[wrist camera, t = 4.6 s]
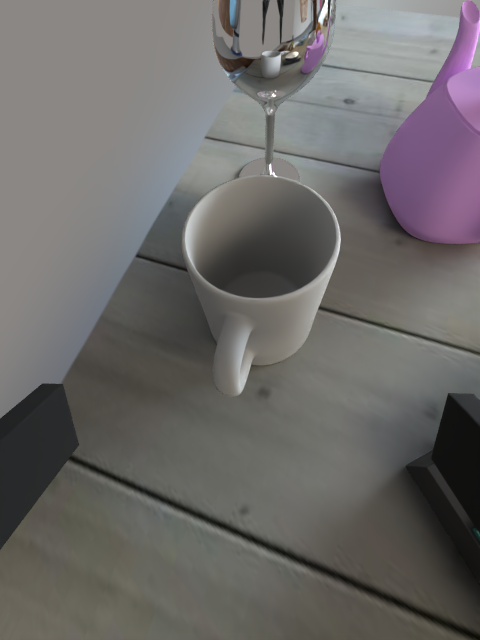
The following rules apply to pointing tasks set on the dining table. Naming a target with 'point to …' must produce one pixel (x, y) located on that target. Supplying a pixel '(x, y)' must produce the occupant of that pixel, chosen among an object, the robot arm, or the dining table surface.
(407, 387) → the dining table surface
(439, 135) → the teapot
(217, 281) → the mug
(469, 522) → the scale
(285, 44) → the wineglass
